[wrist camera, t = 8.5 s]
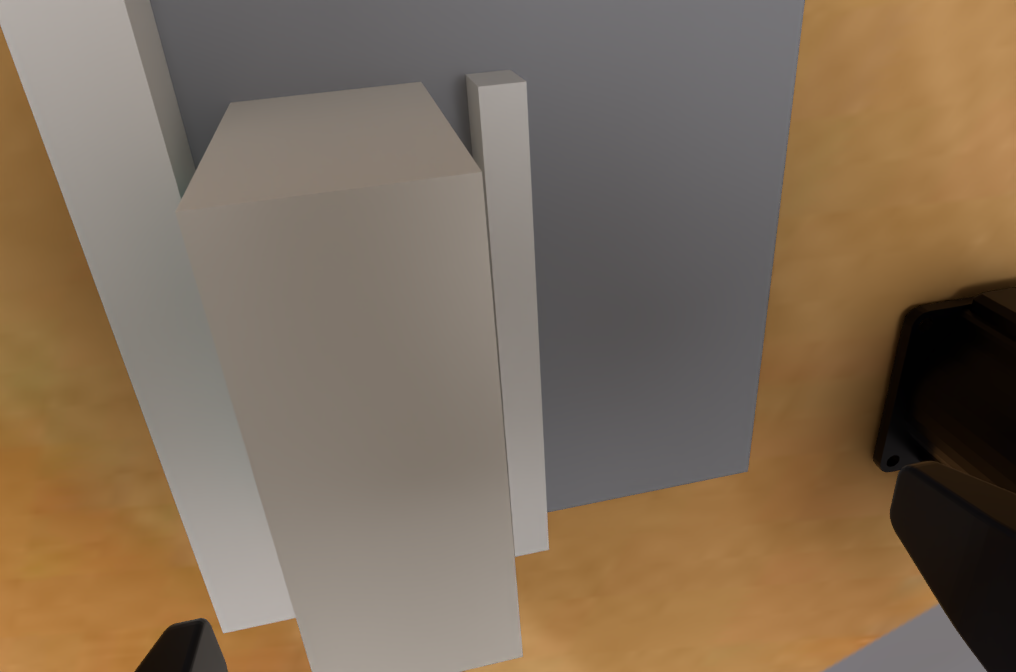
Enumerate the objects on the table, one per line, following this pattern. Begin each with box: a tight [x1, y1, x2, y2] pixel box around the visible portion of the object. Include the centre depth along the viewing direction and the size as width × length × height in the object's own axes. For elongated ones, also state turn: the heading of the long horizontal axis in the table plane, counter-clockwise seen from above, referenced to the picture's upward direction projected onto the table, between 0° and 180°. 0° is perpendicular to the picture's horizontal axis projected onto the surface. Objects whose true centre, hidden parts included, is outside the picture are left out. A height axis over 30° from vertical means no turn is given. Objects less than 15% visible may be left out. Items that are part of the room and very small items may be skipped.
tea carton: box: [175, 82, 523, 672], centre depth 15 cm, size 4×10×7 cm, turn 4°
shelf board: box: [0, 0, 805, 633], centre depth 17 cm, size 24×16×4 cm, turn 4°
